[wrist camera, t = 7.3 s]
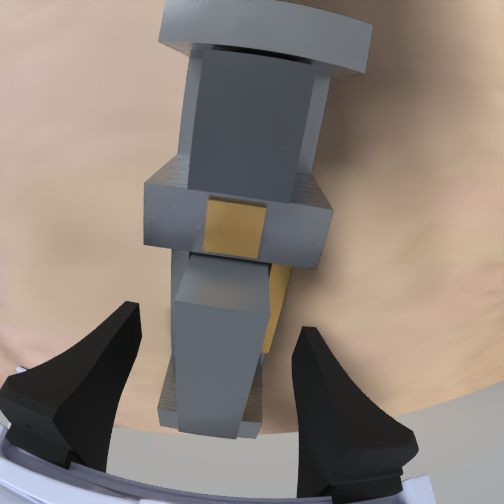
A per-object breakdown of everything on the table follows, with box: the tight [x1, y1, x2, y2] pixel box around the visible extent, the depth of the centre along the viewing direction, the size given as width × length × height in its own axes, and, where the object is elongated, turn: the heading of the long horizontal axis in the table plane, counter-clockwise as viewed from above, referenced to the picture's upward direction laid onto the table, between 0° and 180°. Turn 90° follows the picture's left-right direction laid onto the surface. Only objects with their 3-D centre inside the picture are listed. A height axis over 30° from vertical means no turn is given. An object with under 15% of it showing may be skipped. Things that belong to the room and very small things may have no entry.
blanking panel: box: [175, 252, 270, 439], centre depth 13 cm, size 8×2×7 cm, turn 171°
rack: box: [144, 0, 373, 439], centre depth 12 cm, size 19×6×6 cm, turn 171°
